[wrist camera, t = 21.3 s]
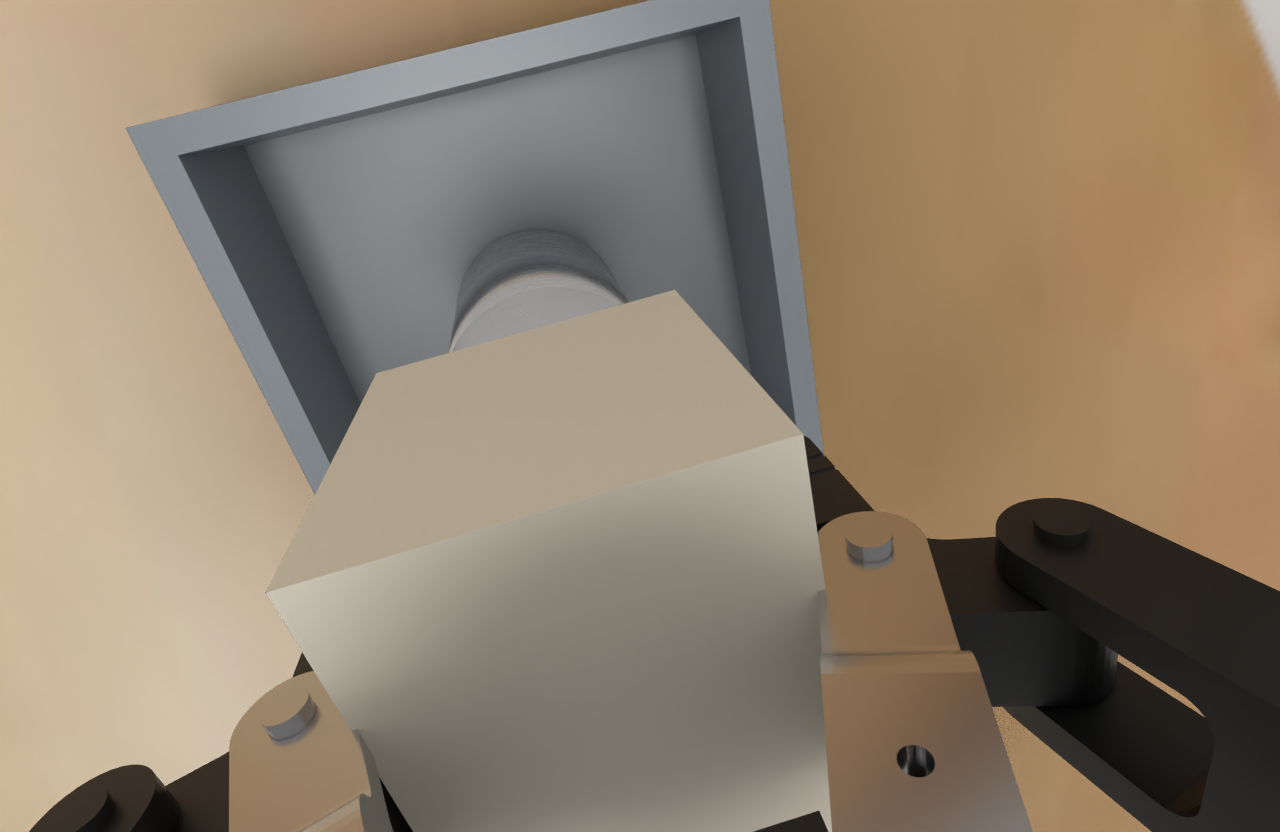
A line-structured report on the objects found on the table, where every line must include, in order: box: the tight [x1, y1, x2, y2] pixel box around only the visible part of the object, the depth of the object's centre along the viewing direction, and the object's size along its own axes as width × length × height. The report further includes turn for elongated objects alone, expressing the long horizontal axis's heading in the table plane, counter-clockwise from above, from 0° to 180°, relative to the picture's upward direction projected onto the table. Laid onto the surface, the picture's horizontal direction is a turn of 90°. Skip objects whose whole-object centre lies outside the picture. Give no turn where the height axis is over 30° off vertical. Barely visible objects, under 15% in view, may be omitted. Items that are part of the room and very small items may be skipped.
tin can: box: [449, 229, 629, 353], centre depth 21 cm, size 6×6×7 cm
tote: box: [126, 0, 824, 494], centre depth 22 cm, size 16×16×6 cm
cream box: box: [266, 290, 832, 832], centre depth 10 cm, size 6×5×6 cm
